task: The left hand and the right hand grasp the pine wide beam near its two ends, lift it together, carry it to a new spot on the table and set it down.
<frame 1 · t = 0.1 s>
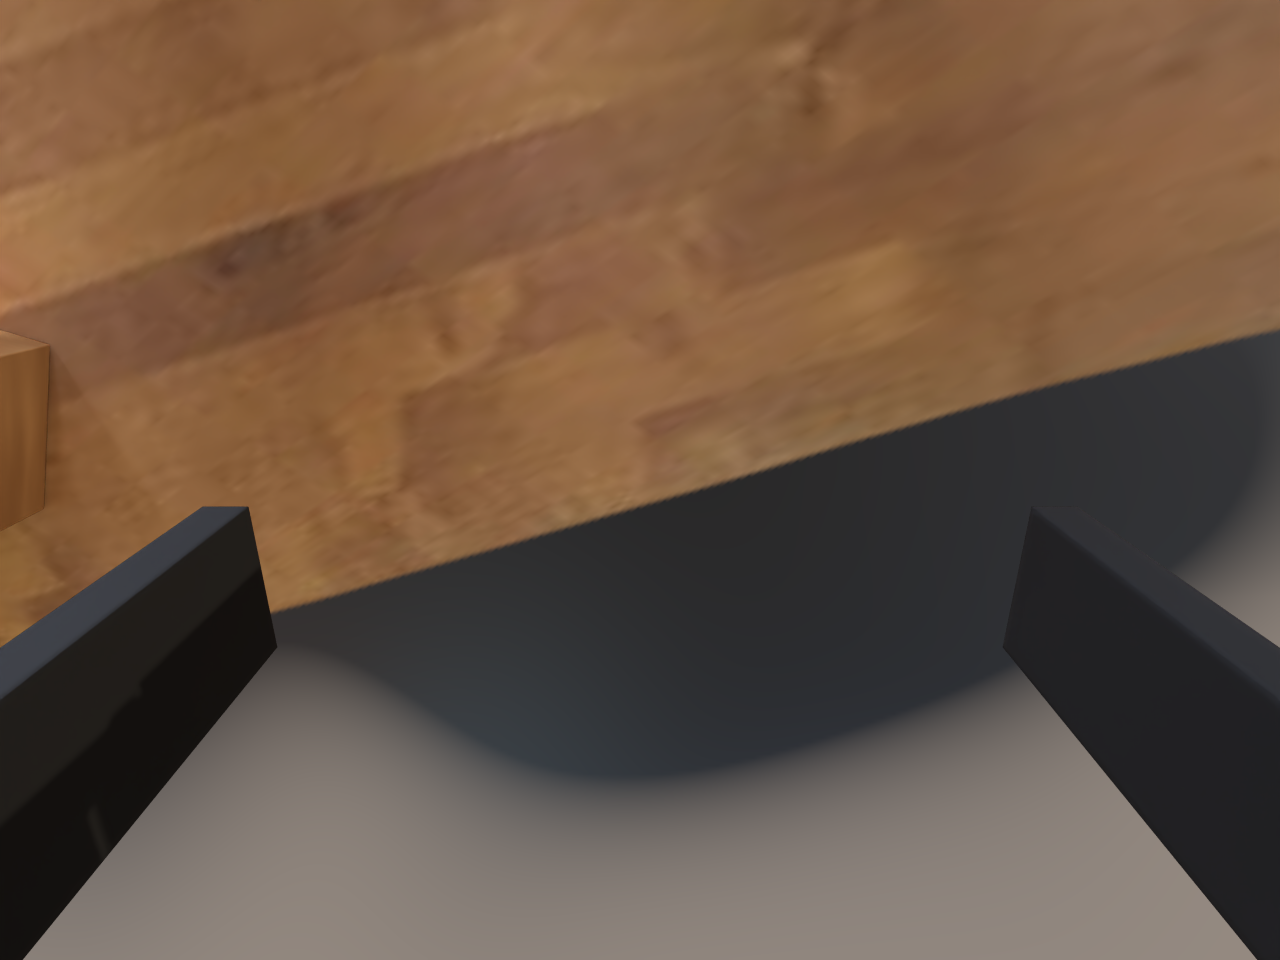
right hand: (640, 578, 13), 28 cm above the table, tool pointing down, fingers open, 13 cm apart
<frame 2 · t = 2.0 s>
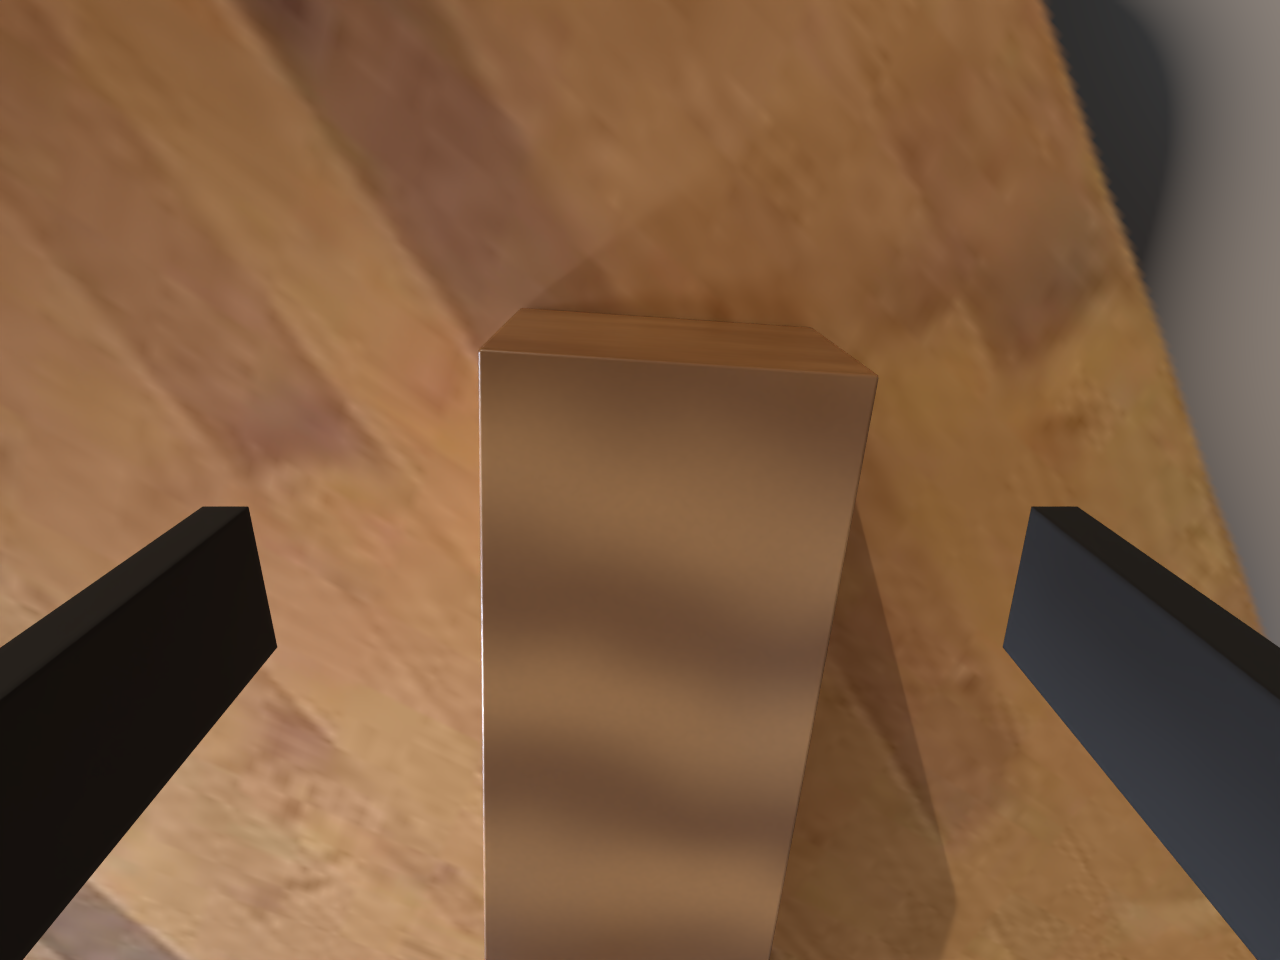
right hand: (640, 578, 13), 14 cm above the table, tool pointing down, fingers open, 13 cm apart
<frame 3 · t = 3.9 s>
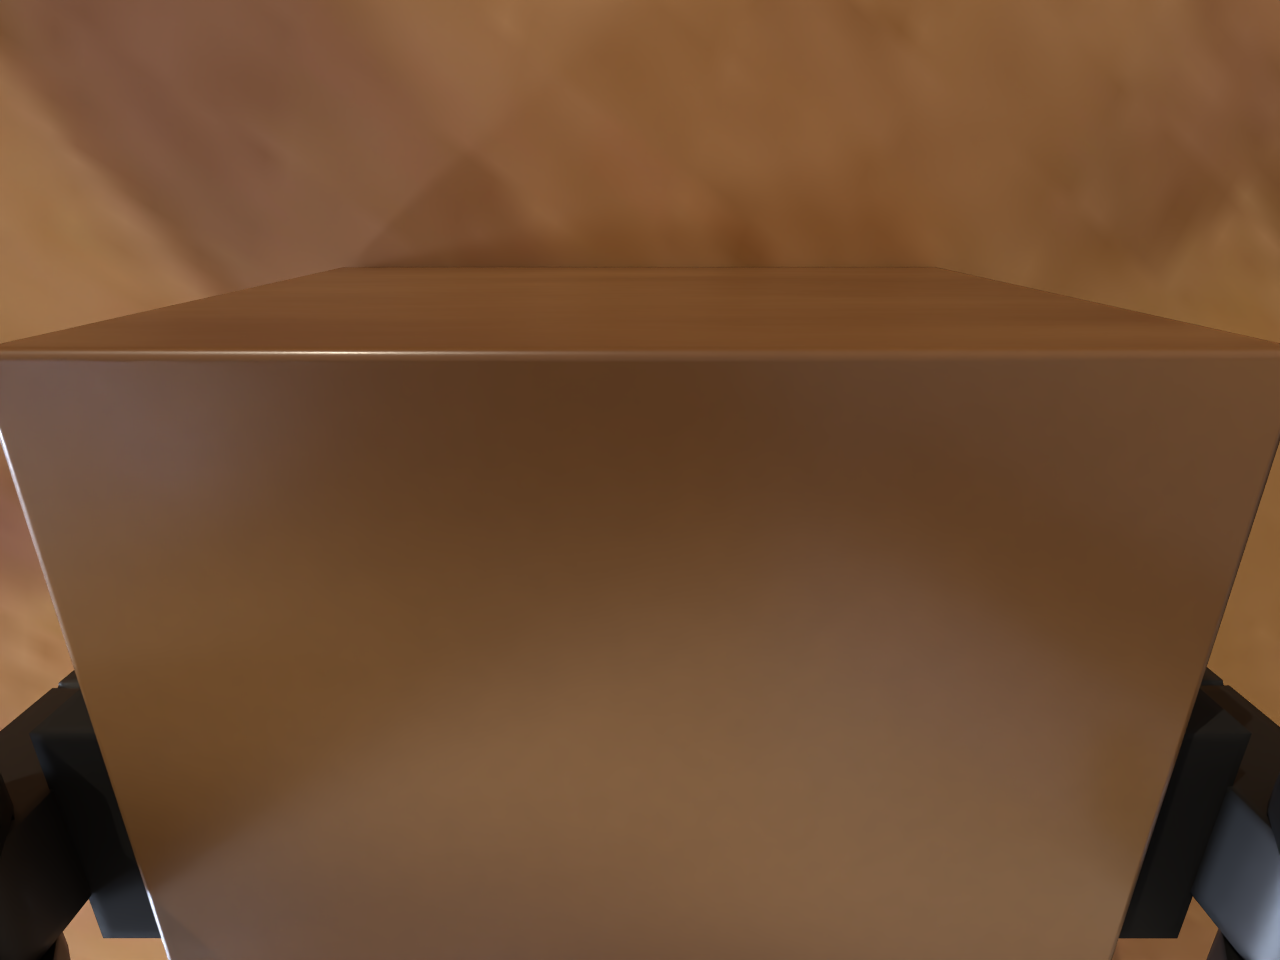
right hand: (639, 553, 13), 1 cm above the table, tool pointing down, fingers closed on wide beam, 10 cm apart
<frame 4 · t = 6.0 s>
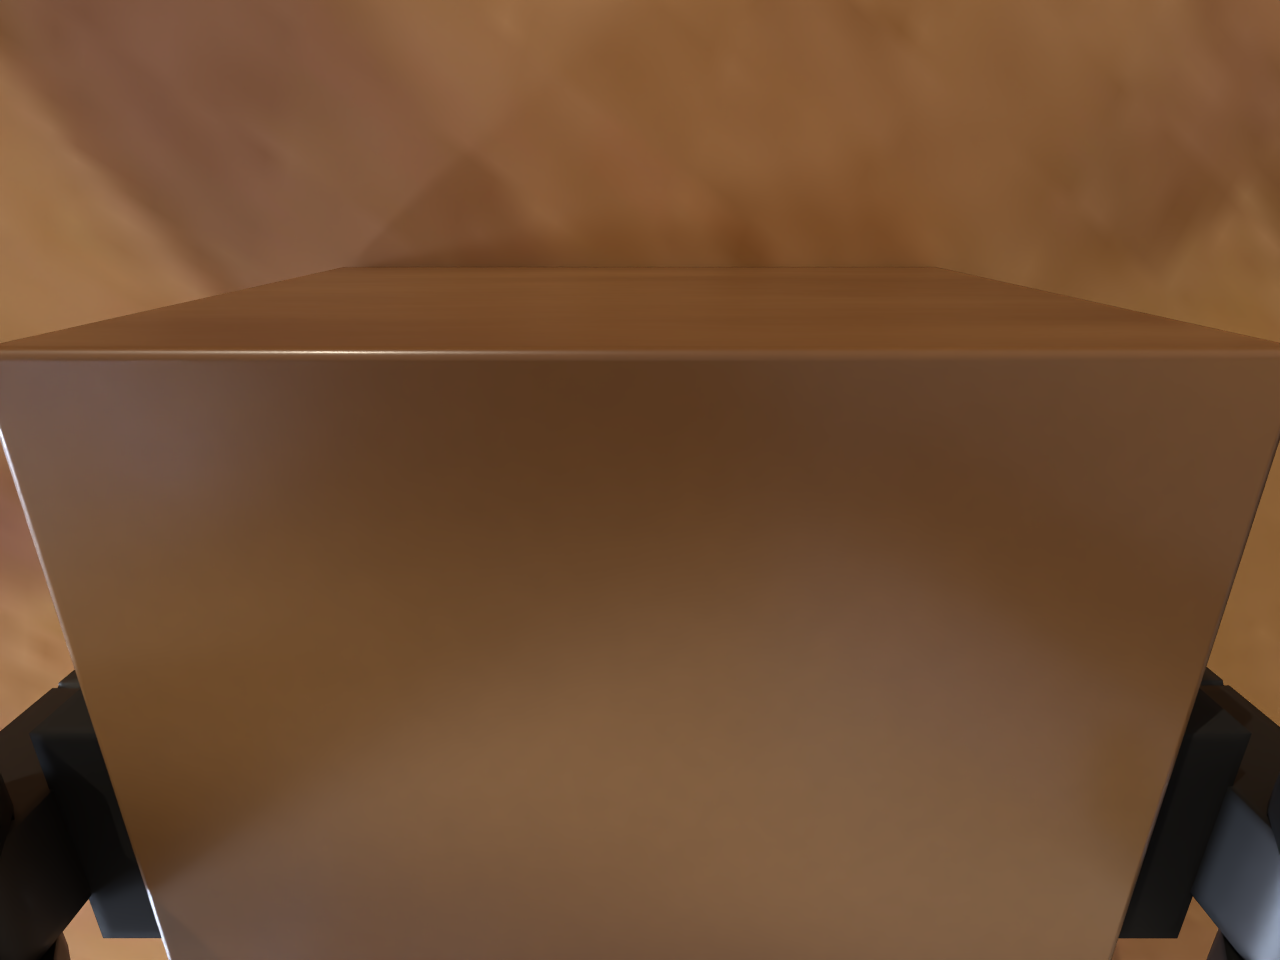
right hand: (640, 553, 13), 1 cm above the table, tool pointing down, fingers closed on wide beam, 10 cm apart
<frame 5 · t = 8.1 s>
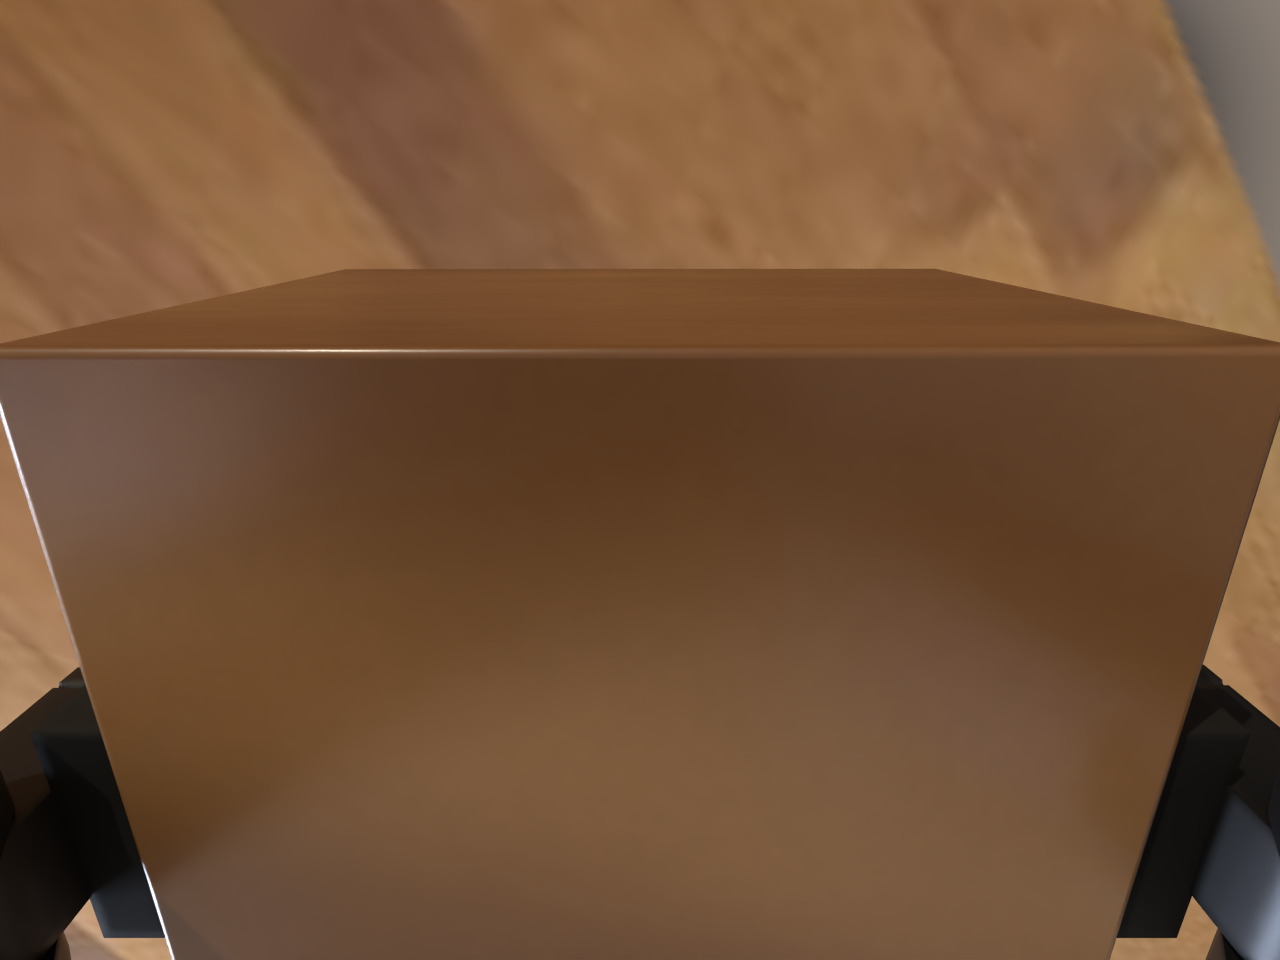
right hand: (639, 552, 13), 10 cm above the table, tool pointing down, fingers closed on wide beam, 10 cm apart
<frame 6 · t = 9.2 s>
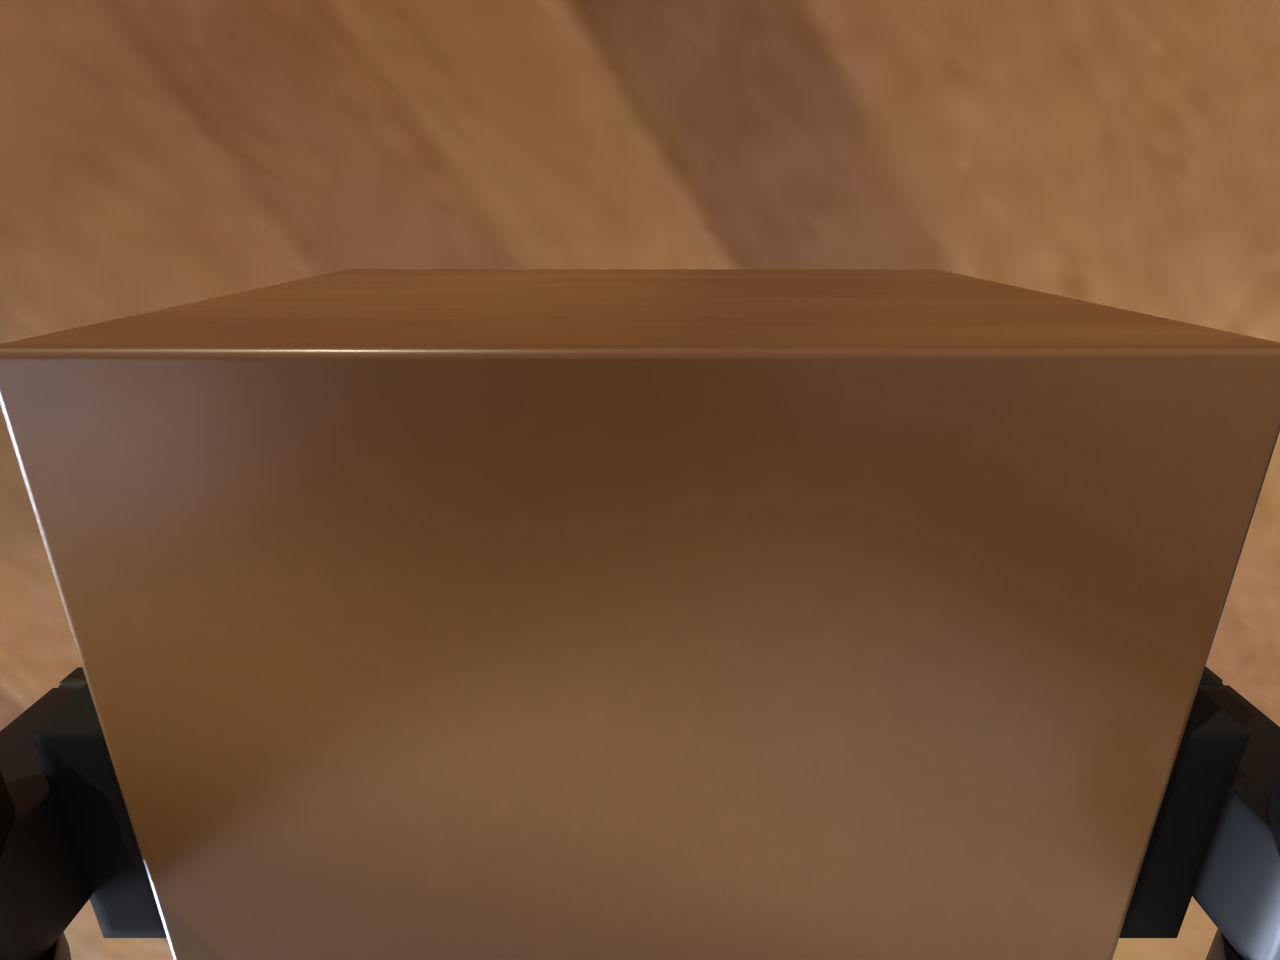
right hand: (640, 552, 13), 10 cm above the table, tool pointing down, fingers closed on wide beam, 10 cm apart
when the left hand's fingers open (2 cm above the table, at t = 12.5 s): wide beam drops 1 cm, on the table.
when the right hand's fingers open (2 cm above the table, at t = 12.5 s): wide beam drops 1 cm, on the table.
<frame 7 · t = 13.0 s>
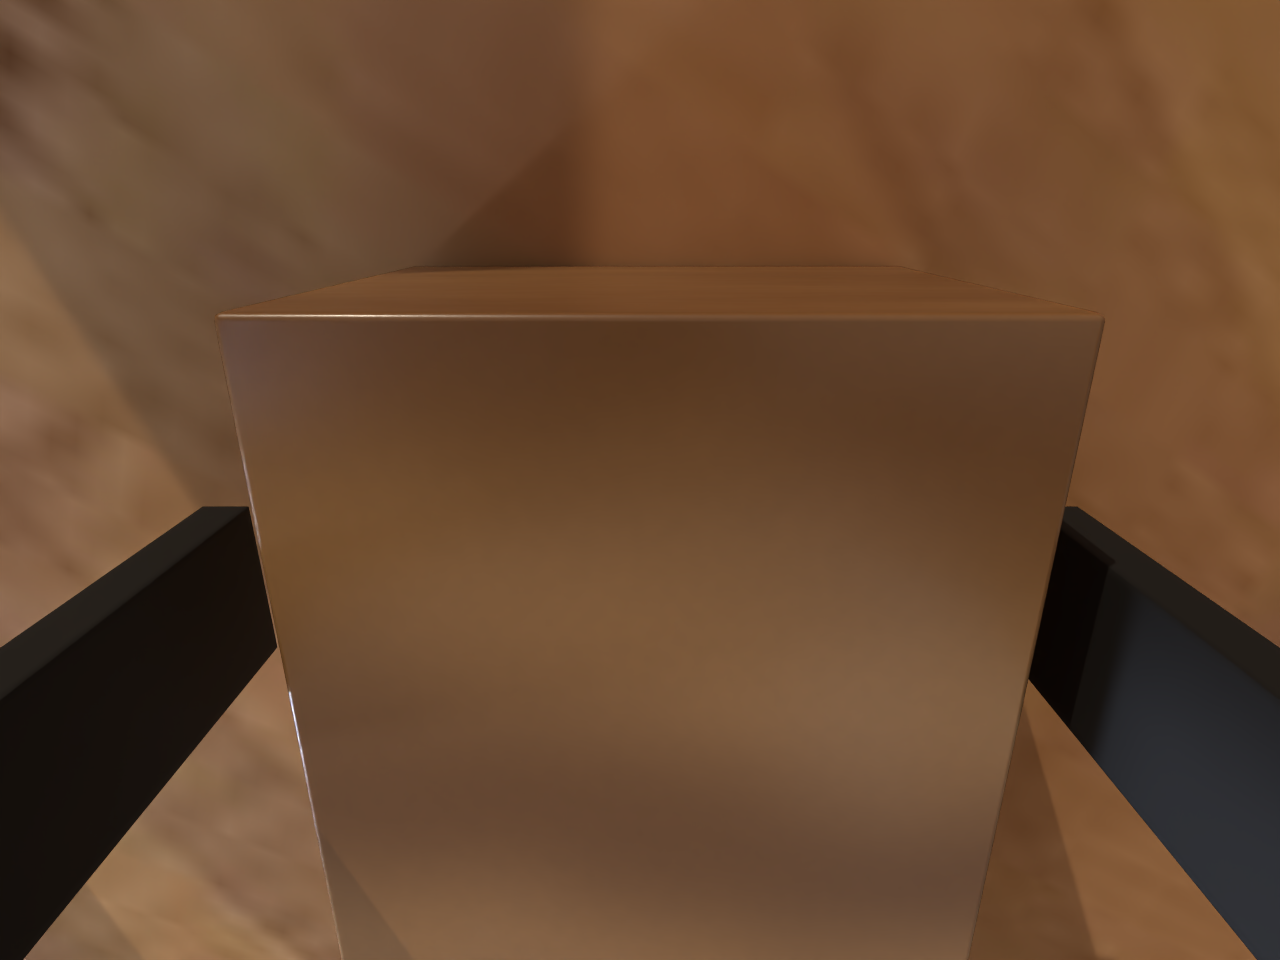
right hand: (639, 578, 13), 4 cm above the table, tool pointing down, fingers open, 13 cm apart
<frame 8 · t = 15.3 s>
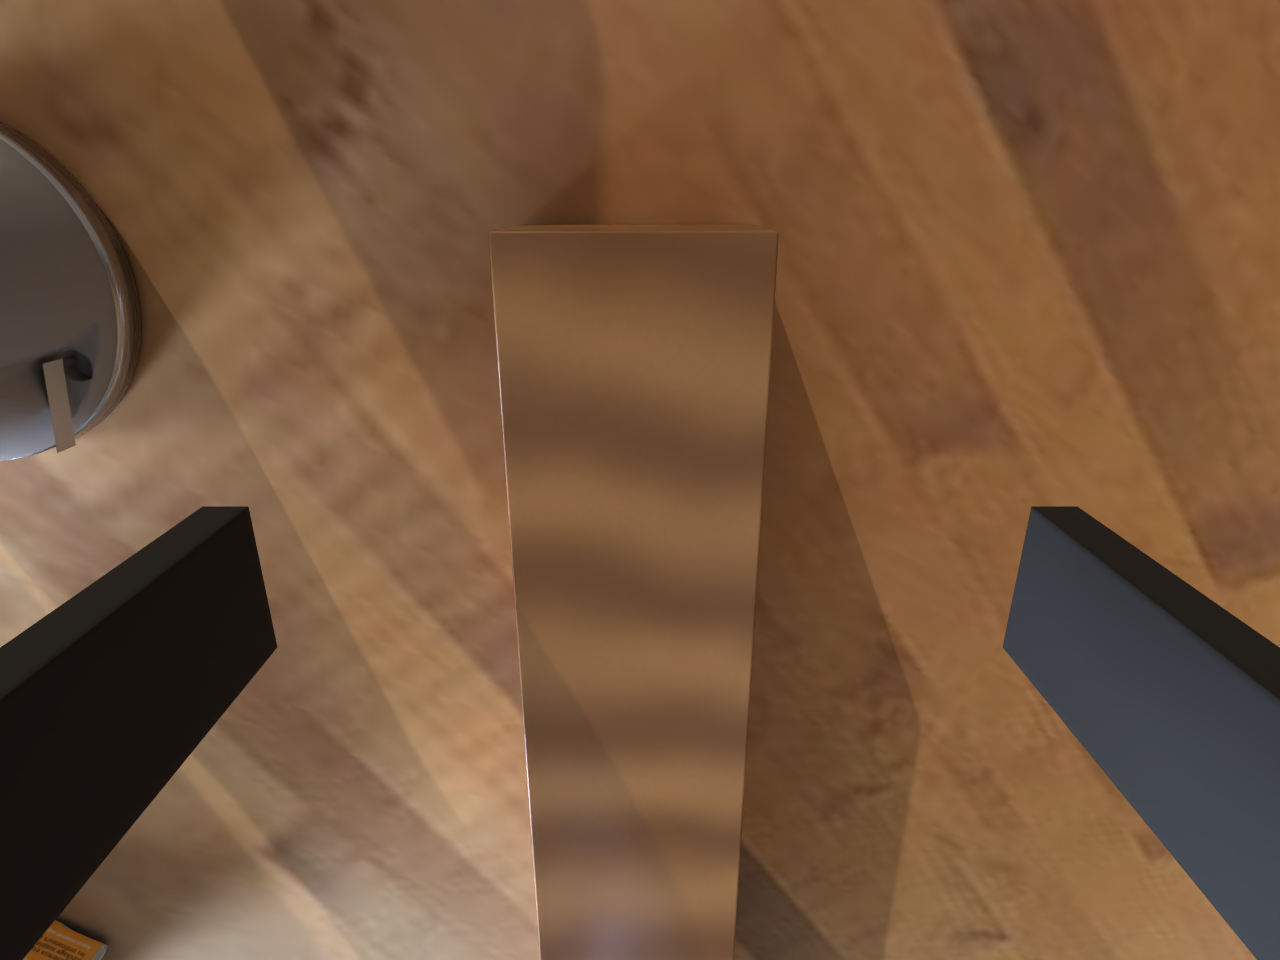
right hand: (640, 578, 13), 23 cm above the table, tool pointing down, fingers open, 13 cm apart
wide beam: (637, 831, 44), on the table
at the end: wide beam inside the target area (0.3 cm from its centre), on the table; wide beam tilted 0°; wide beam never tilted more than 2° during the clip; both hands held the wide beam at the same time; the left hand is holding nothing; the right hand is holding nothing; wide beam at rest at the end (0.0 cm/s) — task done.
